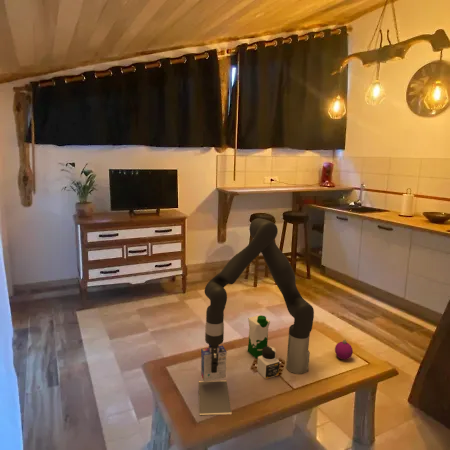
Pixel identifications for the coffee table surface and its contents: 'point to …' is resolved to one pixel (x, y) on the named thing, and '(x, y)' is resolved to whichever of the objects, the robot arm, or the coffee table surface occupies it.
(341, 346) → the christmas ornament
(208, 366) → the ink cartridge box
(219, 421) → the coffee table surface
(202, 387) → the mat
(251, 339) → the milk carton
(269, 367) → the medicine bottle
